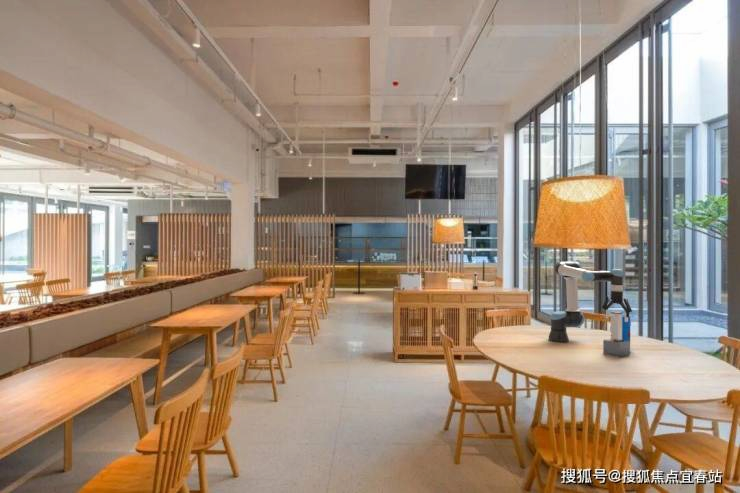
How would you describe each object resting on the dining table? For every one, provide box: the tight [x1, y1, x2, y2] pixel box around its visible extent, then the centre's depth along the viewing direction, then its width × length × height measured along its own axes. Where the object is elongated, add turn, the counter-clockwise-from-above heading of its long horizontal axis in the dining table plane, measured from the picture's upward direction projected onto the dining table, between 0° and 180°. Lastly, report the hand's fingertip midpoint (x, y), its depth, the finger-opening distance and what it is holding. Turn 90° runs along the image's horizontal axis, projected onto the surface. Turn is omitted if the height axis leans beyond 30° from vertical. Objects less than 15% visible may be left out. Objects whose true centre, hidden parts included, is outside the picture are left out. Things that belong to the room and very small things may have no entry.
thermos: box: [622, 314, 631, 342], centre depth 313 cm, size 11×11×25 cm
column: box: [610, 310, 624, 342], centre depth 298 cm, size 5×6×22 cm
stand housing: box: [602, 337, 631, 358], centre depth 298 cm, size 12×12×11 cm
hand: (616, 320), depth 298 cm, fingers open, 13 cm apart
